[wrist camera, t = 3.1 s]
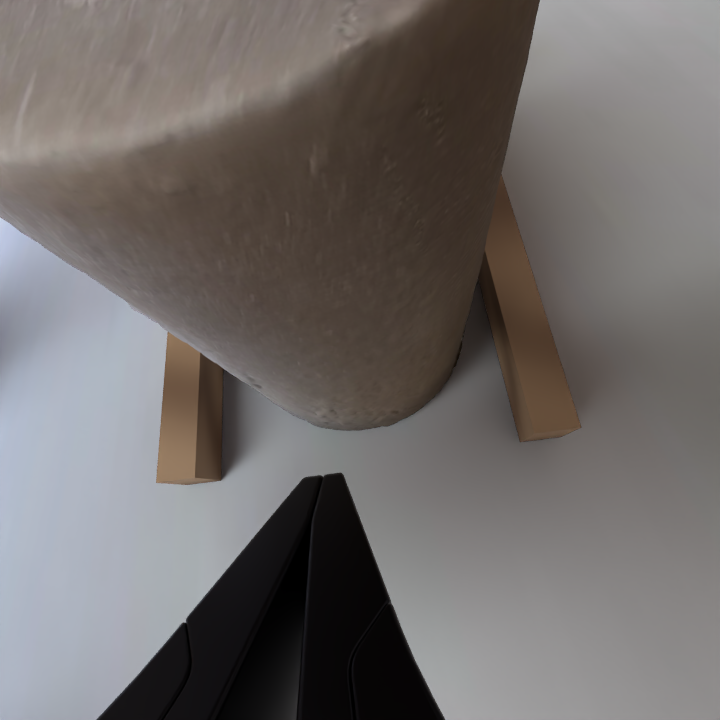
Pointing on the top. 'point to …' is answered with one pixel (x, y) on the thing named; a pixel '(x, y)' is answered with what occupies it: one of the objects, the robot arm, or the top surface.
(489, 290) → the channel
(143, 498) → the top surface
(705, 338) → the top surface
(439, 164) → the pillar candle
